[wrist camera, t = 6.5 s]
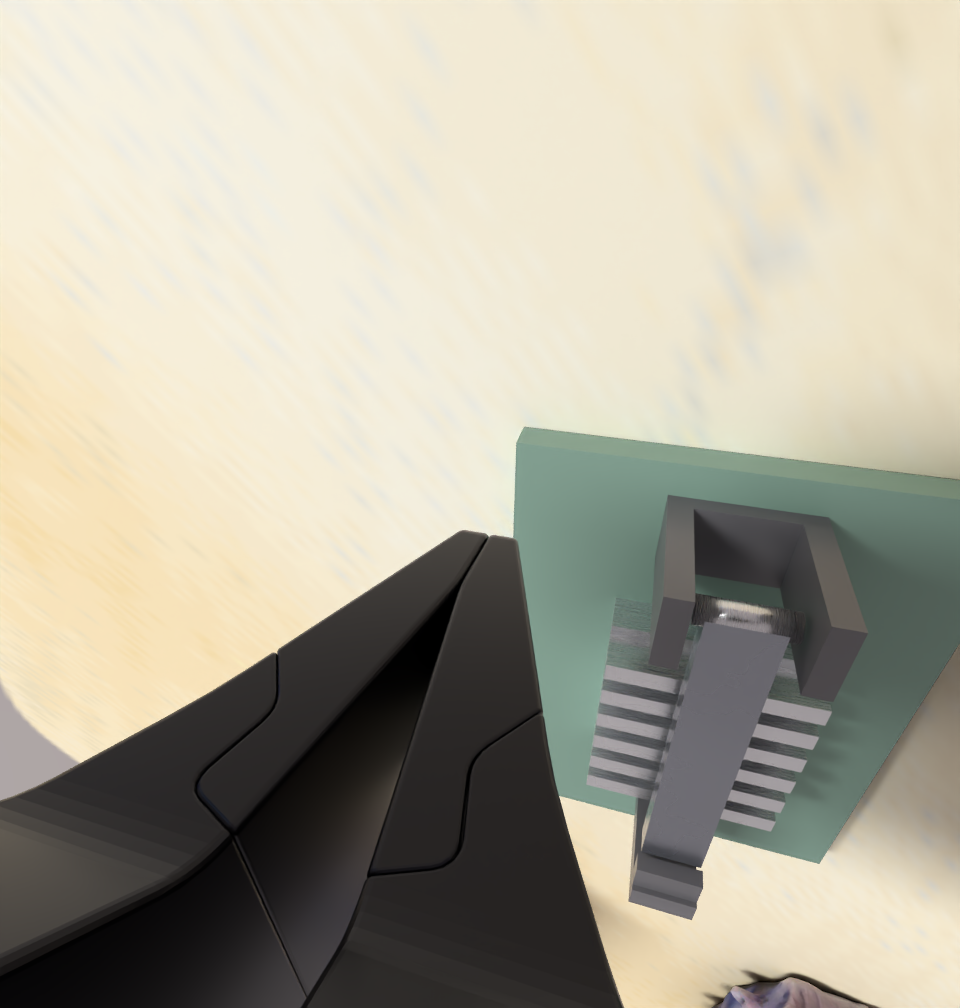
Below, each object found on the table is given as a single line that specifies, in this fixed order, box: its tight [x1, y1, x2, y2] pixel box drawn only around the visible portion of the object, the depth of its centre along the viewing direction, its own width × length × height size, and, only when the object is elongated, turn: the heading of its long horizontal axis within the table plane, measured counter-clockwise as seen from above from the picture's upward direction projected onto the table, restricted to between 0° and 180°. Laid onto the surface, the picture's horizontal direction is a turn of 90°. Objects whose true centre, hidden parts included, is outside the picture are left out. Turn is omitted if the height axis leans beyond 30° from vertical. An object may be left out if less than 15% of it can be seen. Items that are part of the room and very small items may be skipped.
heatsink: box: [586, 597, 832, 832], centre depth 23 cm, size 7×8×3 cm
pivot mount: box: [648, 495, 868, 702], centre depth 18 cm, size 5×3×5 cm, turn 91°
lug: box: [629, 797, 703, 920], centre depth 25 cm, size 2×2×5 cm
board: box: [513, 427, 960, 864], centre depth 24 cm, size 15×20×1 cm
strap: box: [641, 593, 806, 868], centre depth 20 cm, size 12×3×1 cm, turn 1°
